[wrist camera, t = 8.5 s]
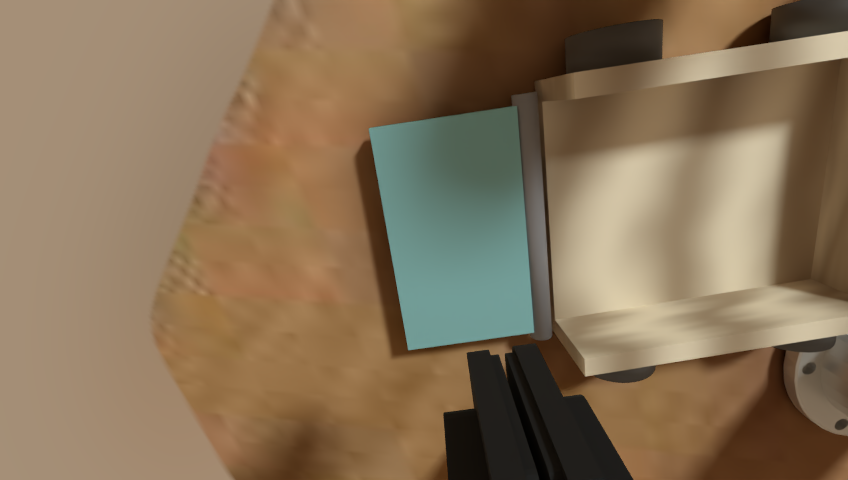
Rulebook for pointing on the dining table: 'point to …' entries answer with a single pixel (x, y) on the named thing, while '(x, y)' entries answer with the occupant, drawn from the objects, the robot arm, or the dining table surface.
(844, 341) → the robot arm
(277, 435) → the dining table surface
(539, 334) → the tailgate
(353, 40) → the dining table surface
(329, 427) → the dining table surface
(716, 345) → the cargo bed
